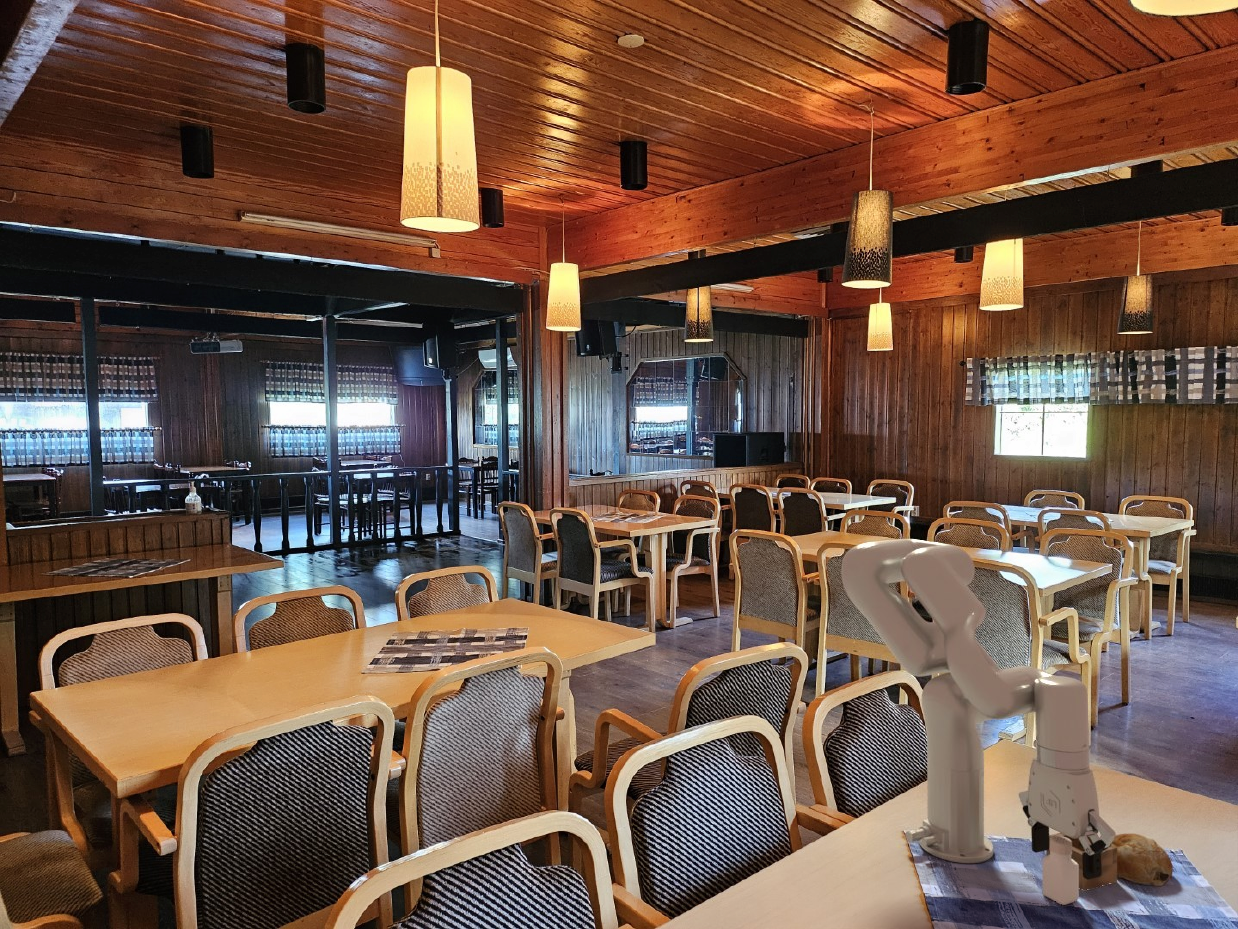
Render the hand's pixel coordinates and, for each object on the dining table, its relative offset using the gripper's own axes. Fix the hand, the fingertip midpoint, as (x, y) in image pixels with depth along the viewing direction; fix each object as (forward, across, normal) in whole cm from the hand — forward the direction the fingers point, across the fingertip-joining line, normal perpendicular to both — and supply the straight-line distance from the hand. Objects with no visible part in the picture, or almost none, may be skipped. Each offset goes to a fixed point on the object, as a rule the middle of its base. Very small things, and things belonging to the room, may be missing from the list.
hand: (1065, 863), depth 133 cm
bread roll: (+6, -3, +19) cm, 20 cm away
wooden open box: (+6, -5, +9) cm, 12 cm away
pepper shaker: (+6, -1, 0) cm, 6 cm away
